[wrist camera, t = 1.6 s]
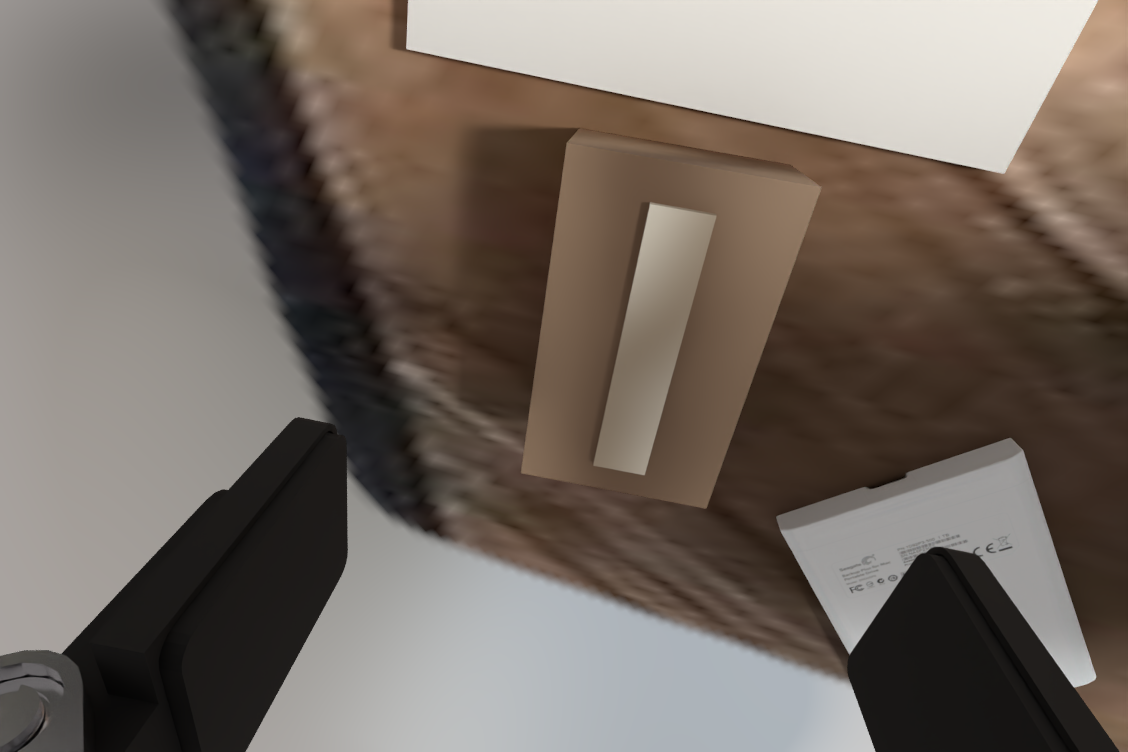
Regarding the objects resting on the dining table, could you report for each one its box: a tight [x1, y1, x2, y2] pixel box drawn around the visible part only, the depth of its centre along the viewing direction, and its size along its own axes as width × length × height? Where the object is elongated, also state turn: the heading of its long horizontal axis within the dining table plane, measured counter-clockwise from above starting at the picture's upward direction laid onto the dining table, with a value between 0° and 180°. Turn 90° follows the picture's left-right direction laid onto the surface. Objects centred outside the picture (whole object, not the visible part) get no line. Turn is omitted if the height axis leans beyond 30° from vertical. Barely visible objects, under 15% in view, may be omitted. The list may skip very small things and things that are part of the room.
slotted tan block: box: [521, 128, 822, 509], centre depth 17 cm, size 6×10×4 cm, turn 172°
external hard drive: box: [776, 438, 1096, 687], centre depth 23 cm, size 2×8×12 cm
